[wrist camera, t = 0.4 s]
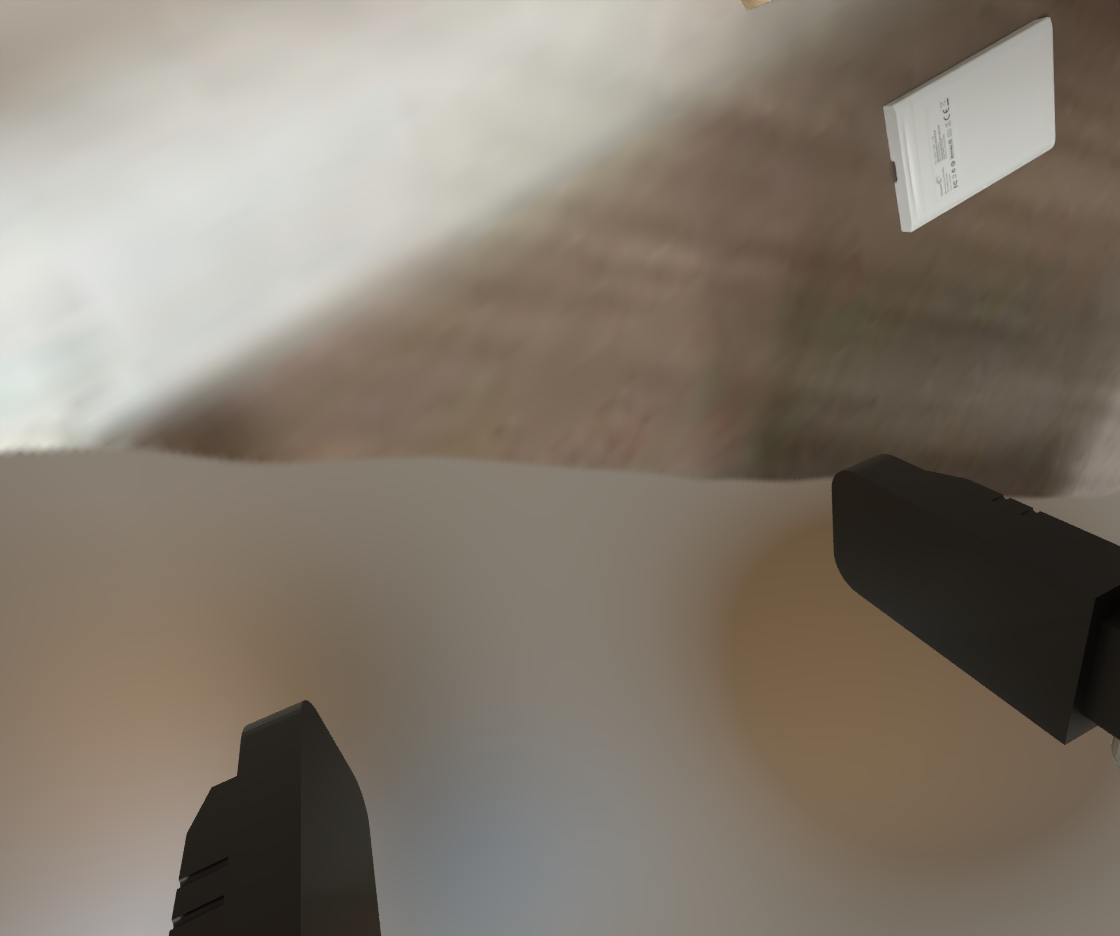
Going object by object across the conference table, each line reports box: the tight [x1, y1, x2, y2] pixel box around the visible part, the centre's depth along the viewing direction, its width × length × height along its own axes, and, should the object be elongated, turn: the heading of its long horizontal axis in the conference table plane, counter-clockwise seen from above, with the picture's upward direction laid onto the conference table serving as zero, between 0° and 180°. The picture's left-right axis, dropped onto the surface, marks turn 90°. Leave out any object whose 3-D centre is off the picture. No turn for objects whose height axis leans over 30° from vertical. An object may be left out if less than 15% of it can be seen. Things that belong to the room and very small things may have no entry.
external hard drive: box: [883, 17, 1055, 232], centre depth 43 cm, size 2×8×12 cm
